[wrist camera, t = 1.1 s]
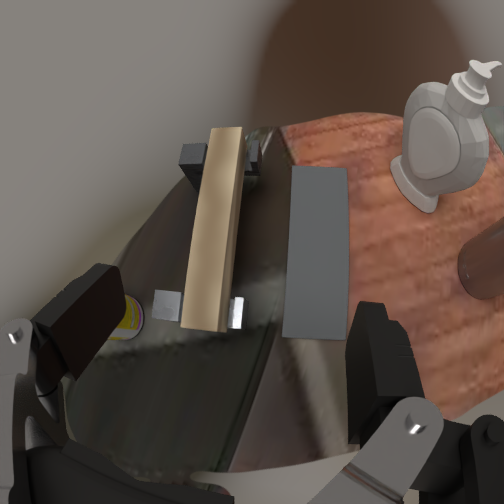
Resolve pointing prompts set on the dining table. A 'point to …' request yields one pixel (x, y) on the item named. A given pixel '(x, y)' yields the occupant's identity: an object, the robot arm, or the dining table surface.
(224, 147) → the rail
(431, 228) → the dining table surface
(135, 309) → the supplement bottle
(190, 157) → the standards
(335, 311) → the mat
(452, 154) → the soap bottle
